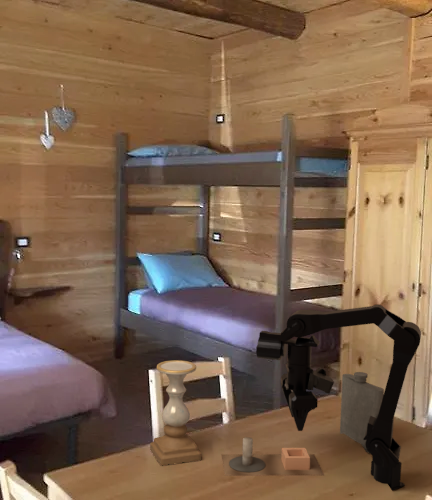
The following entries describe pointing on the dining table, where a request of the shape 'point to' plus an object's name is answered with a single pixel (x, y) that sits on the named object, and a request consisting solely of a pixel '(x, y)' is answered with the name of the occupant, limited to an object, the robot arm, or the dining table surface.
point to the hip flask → (358, 405)
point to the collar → (295, 459)
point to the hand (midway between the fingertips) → (297, 423)
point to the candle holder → (175, 418)
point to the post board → (262, 463)
